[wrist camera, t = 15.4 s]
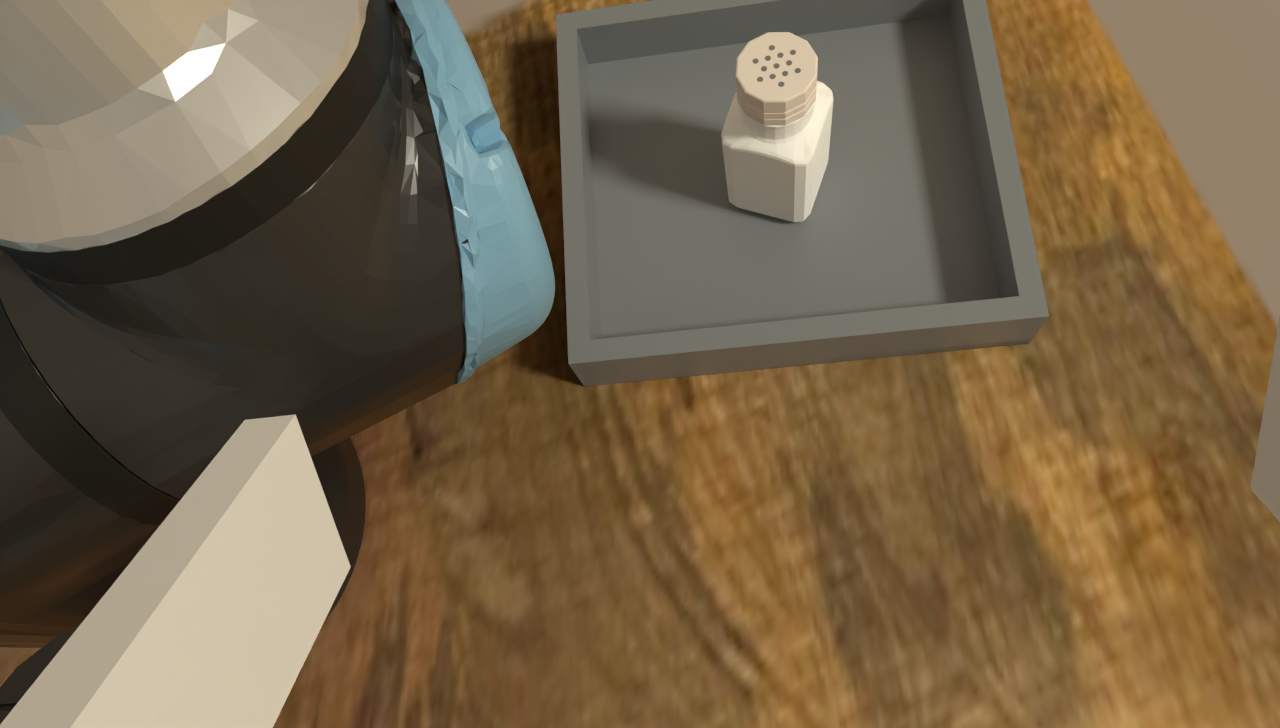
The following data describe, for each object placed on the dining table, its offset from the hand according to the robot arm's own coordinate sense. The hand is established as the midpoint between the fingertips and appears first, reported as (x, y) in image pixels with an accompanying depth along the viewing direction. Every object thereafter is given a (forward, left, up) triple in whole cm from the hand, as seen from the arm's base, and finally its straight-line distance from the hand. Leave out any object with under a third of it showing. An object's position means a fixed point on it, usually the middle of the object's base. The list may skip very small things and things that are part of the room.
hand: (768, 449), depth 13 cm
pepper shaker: (+2, +19, -29) cm, 35 cm away
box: (+2, +19, -29) cm, 35 cm away
